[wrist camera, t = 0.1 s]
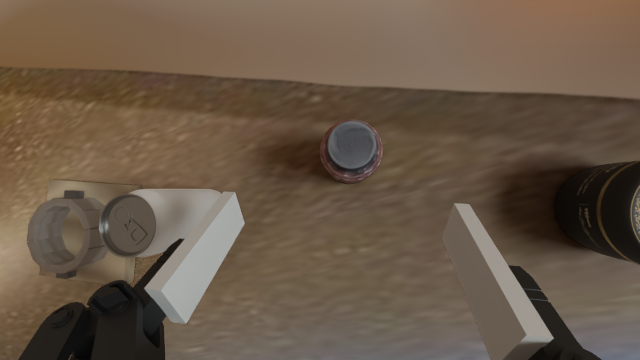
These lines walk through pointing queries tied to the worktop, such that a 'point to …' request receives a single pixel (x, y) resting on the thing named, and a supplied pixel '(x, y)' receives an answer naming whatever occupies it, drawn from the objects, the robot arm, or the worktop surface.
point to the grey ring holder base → (77, 233)
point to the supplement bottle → (351, 151)
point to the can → (152, 219)
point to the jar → (603, 209)
